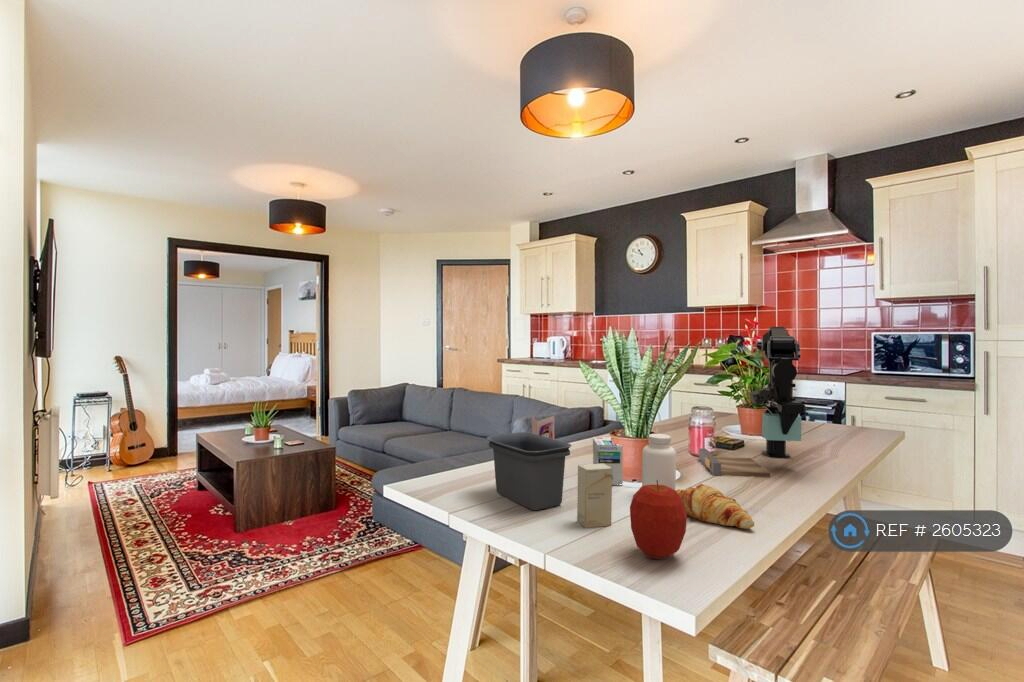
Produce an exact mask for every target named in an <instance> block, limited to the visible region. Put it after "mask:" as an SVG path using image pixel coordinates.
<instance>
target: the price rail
mask: <svg viewBox="0 0 1024 682" xmlns="http://www.w3.org/2000/svg"><path fill="white" fill-rule="evenodd" d="M715 457H716V456H714V455H713V454H712V453H711V452H710V451H709V450H708V449H707V448H703V447H702V448H699V449H698V460H699V461H700V462H701V463H702V464H703V466H704V467H705V468H706V469H707V470H708V471H709V473H711V475H712V474H713V475H718V477H721V476H722V475H721V463H720V462H719V461H718V460H717V459H716V458H715ZM713 475H712V476H713Z"/></svg>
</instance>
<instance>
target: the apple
mask: <svg viewBox="0 0 1024 682" xmlns="http://www.w3.org/2000/svg"><path fill="white" fill-rule="evenodd" d="M629 514H630V528H631V533H632V535H633V538H634V541H635V543H636V547H637V548H638V549H639V550H640V551H641V552H642V553H643V554H644V555H645V556H646V557H647V558H650V559H653V560H663V559H666V558H669V557H671V556H672V555H674V554H675V553H677V552H678V551H679V550H680V548H681V546H682V543H683V540H684V537H685V534H686V532H687V523H688V522H687V521H688V520H687V519H688V515H687V512H686V509H685V506H684V504H683V501H682V498H681V497H680V496H679V495H678V493H677V492H676V489H675V490H674V489H672V488H669V487H667V486H664V485H658V480H657V485H645V486H642V485H641V487H640V488H639V489H638V490H637V491H636V492H635V493H634V494H633V496H632V499H631V503H630V505H629Z"/></svg>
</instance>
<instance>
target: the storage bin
mask: <svg viewBox="0 0 1024 682" xmlns="http://www.w3.org/2000/svg"><path fill="white" fill-rule="evenodd" d="M486 439H487V440H488V441H489V442H488V447H489V448H491V449H492V453H493V463H494V472H495V473H494V475H495V476H494V477H495V488H496V493H497V492H498V494H499V493H500V494H499V495H501V496H503V497H505V498H508V499H509V500H511V501H513V502H515V503H517V504H519V505H522V506H523V507H526V508H527V509H529V510H531V511H532V510H533V511H539V510H543V509H547V508H552V507H556V506H559V505H561V504H562V503H563V492H564V479H565V467H566V466H565V464H566V457H568V456H570V455H571V450H570V448H571V447H572V446H573V444H571V443H569V442H565V441H563V440H559V439H555V438H554V439H552V438H548V437H545V436H541V435H537V434H534V433H532V432H527V431H523V432H521V431H520V432H511V433H503V434H494V435H493V434H492V435H489V436H487V438H486Z"/></svg>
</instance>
